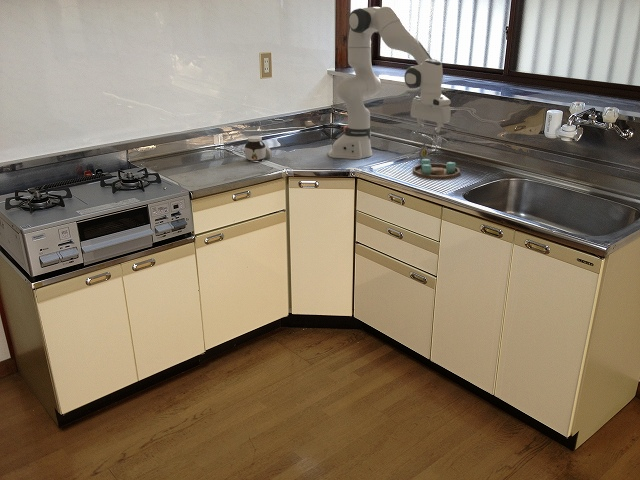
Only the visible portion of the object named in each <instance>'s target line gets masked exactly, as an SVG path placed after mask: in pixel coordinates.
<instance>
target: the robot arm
mask: <svg viewBox="0 0 640 480" xmlns="http://www.w3.org/2000/svg"><path fill="white" fill-rule="evenodd" d="M348 26H349V32H348V38H347V40H348V41H347V62H348V63H347V64H348V65H349V67H351V68H352V69H353V70H354V74H355V76H352V77H348V78H347V77H346V78H345V79H342V80H340V82H338V83H337V85H336V93H337V96H338V98H340V100H341V101H343V103H344V105H345V107H346V111H347V125H344V127H343V134H342V135H341V136H340V137H338V138H337V139H336V140H335V141H333V145H332V149H330V150H329V151H328V152H327V153H328V157H329V158H334V159H335V158H336V159H337V158H338V159H348V160H349V159H350V160H361V159H364V158H368V157H369V158H370V157H372V156H373V151H372V145H371V137H372V136H371V135H372V130H371V111H370V110H369V108H367V107H366V106H365V104H364V99H369V98H373V97H375V96H376V95H379V93H380V92H381V90H382V82H381V80H380V78H379V76H377V75H376V74H375V71H374V69H373V65H372V36H373V34H374V33H376V34H379V36H380V37H381V39H382V41H383V43H384V44H385V46H387V47H388V48H389V49H392V50H395V51H399V52H400V51H401V52H404V53H407V54H408V55H411V57H413V59H414V60H415V61H416V63H417V65H413V66H410V67H408V68H407V69H406V71H405V72H404V78H403V79H404V83H405V85H406V86H407V88H409V89H412V90H417V89H420V96H417V95H416V96H415V97H413V98H412V100H411V101H412V102H411V106H410V117H411V118H414V119H416V122H417V125H418V129H420V130H424V127H425V124H423V121H429V122H434V123H436V127H435V128H434V132H435V133H436V134H439V133H440V132H441V128H442V127H443V125H445V124H448V123H450V121H451V115H452V114H451V107H450V105H451V103H452V101H451V99H449V98H448V97H447V96H445V95H443V93H442V92H443V91H442V84H443V79H444V77H443V76H444V73H443V72H444V71H443V64H442V62H441V61H440V60H437V59H435V58H434V59H433V58H432V57H431V55H430V54H429V53H428V51H427V50H426V48H425V47H424V46H423V44H422V43H421V42H420V41H419V39H418V38H417V37H416V36H414V35H413V34H412V33H411V32H410V31H409V30H408V29H407V27H406V26H405V24H404V23H403V21H402V20H401V18H400V16H399V15H398V14H397V12H396V11H395V10H394V9H393V8H392V7H391V6H388V5H386V6H385V5H384V6H380V7H379V6H368V7H364V8H356V9H353V10H352V11H350V14H349V16H348Z"/></svg>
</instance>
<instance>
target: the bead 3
mask: <svg viewBox="0 0 640 480" xmlns="http://www.w3.org/2000/svg"><path fill="white" fill-rule="evenodd" d="M446 164H447V165H446V173H447V174H454V173H455V167H456V164H457V163H456V162H452V161H448V162H446Z"/></svg>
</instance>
